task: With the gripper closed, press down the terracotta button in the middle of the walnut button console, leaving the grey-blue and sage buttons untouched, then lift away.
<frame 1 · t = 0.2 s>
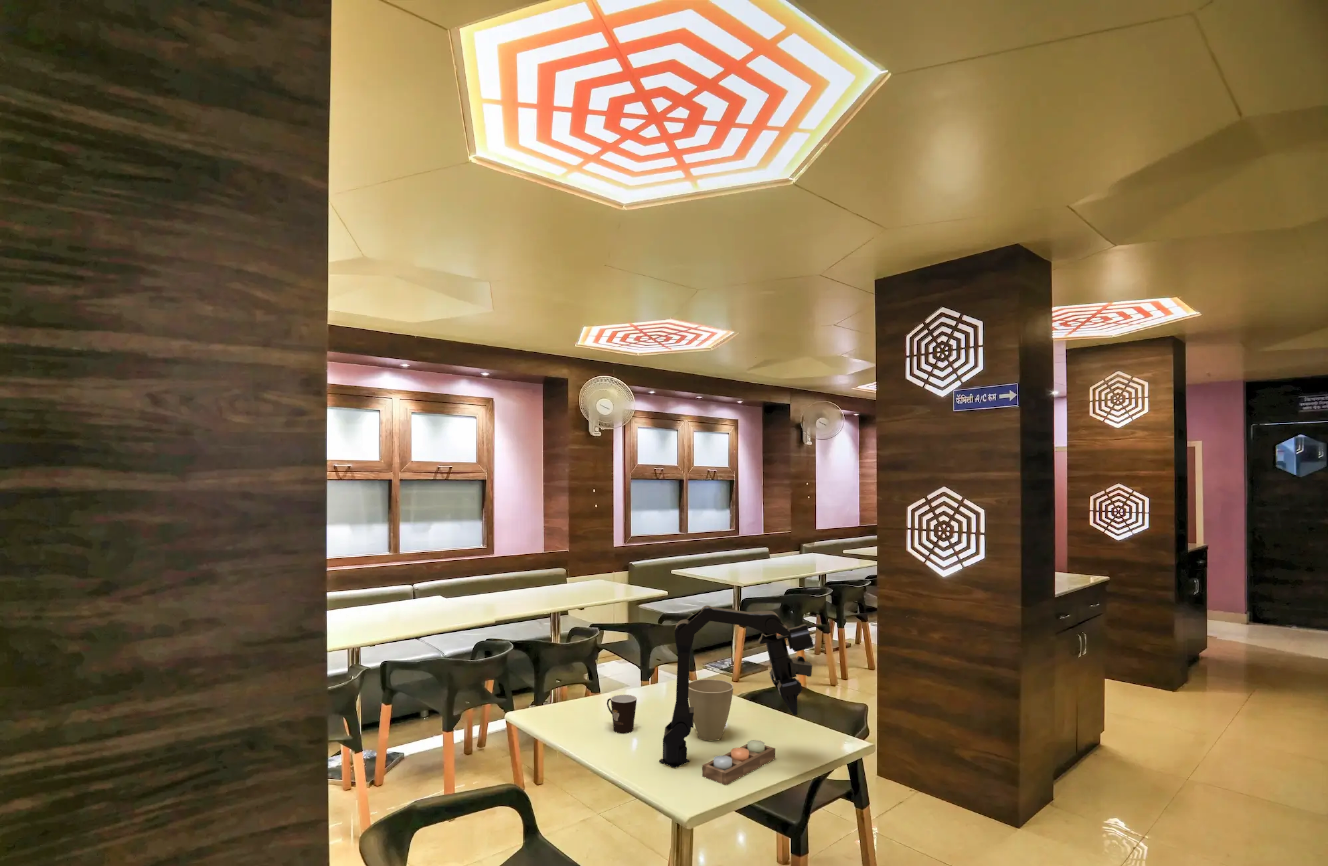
hand: (792, 709, 188), 15 cm above the table, tool pointing down, fingers open, 9 cm apart
terracotta button: (739, 756, 185), point 3 cm above the table, slide at 0.0 cm
walnut console: (740, 767, 185), on the table
sage button: (756, 748, 191), point 3 cm above the table, slide at 0.0 cm
plant pot: (710, 737, 209), on the table
coffee mug: (622, 729, 216), on the table
slate button: (722, 764, 179), point 3 cm above the table, slide at 0.0 cm
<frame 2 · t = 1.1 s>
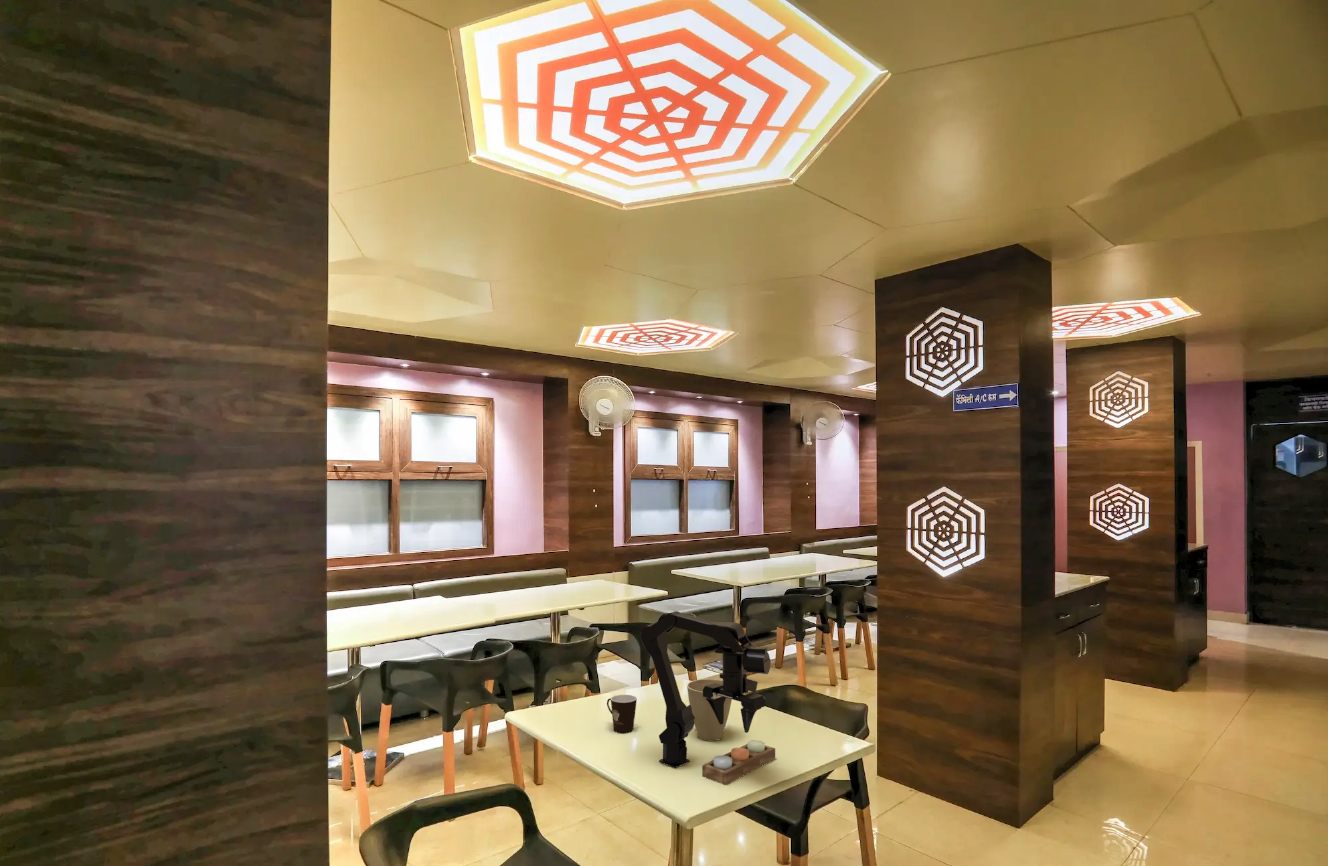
hand: (733, 728, 181), 12 cm above the table, tool pointing down, fingers open, 9 cm apart
nothing on the table moved.
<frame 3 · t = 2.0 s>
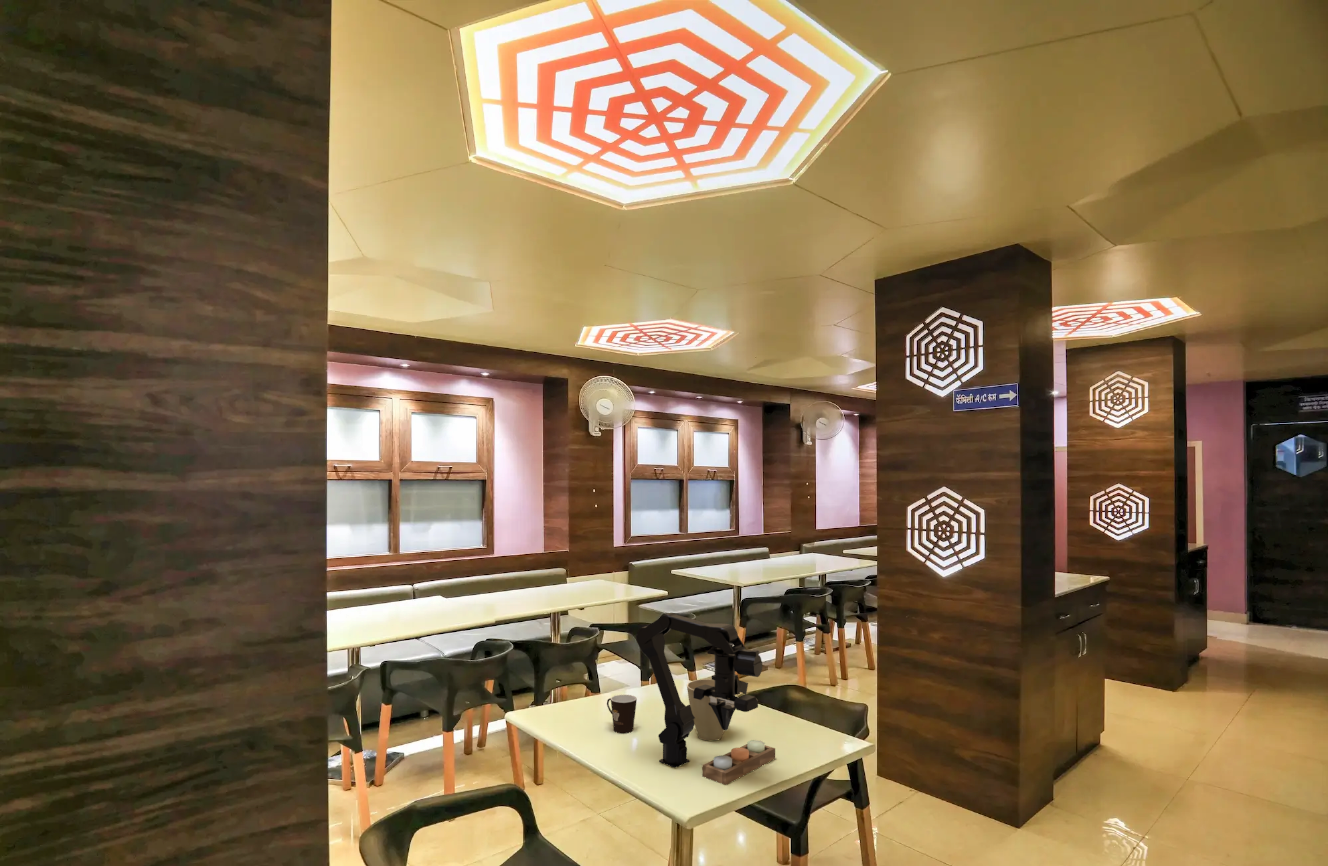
hand: (725, 729, 181), 12 cm above the table, tool pointing down, fingers closed
nothing on the table moved.
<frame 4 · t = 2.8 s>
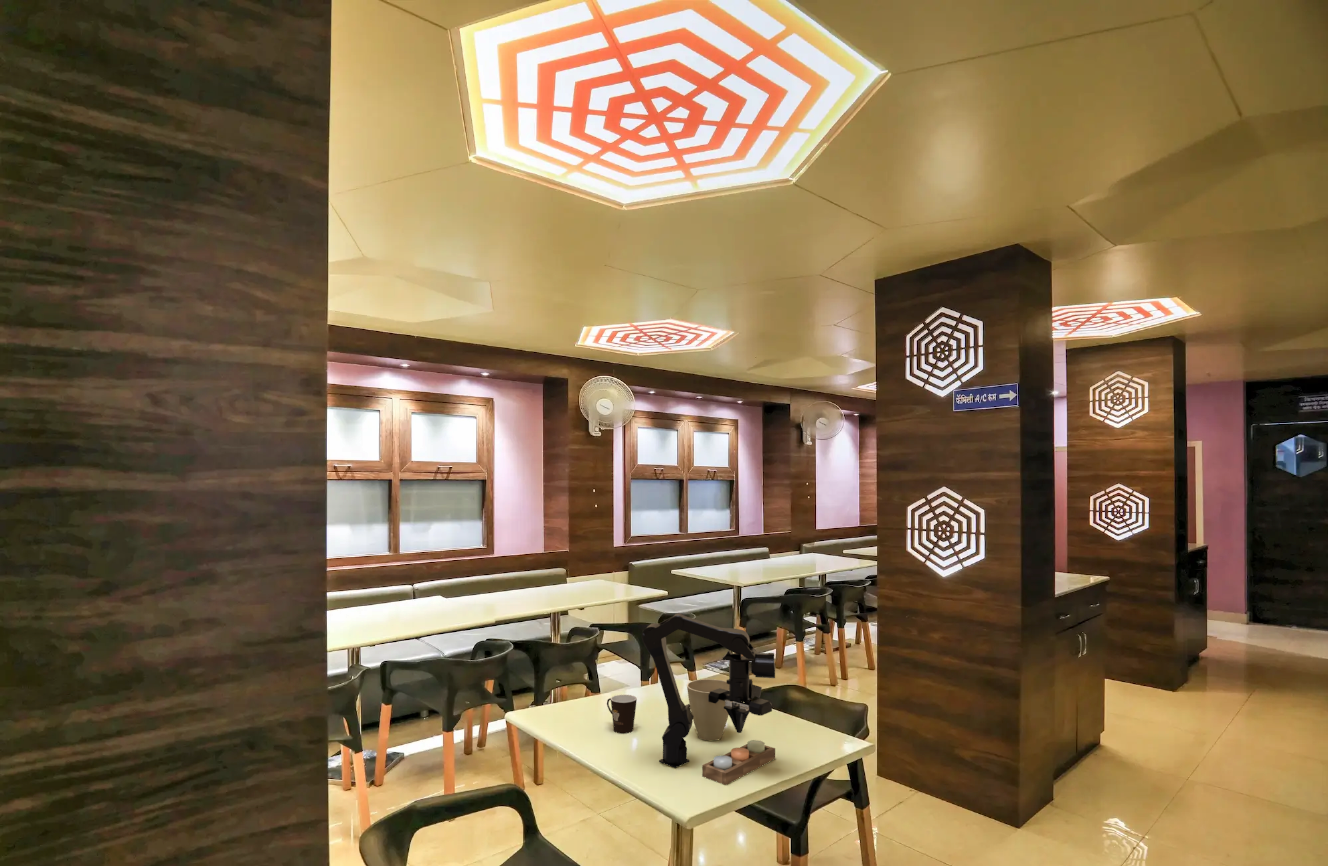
hand: (739, 732, 186), 9 cm above the table, tool pointing down, fingers closed
nothing on the table moved.
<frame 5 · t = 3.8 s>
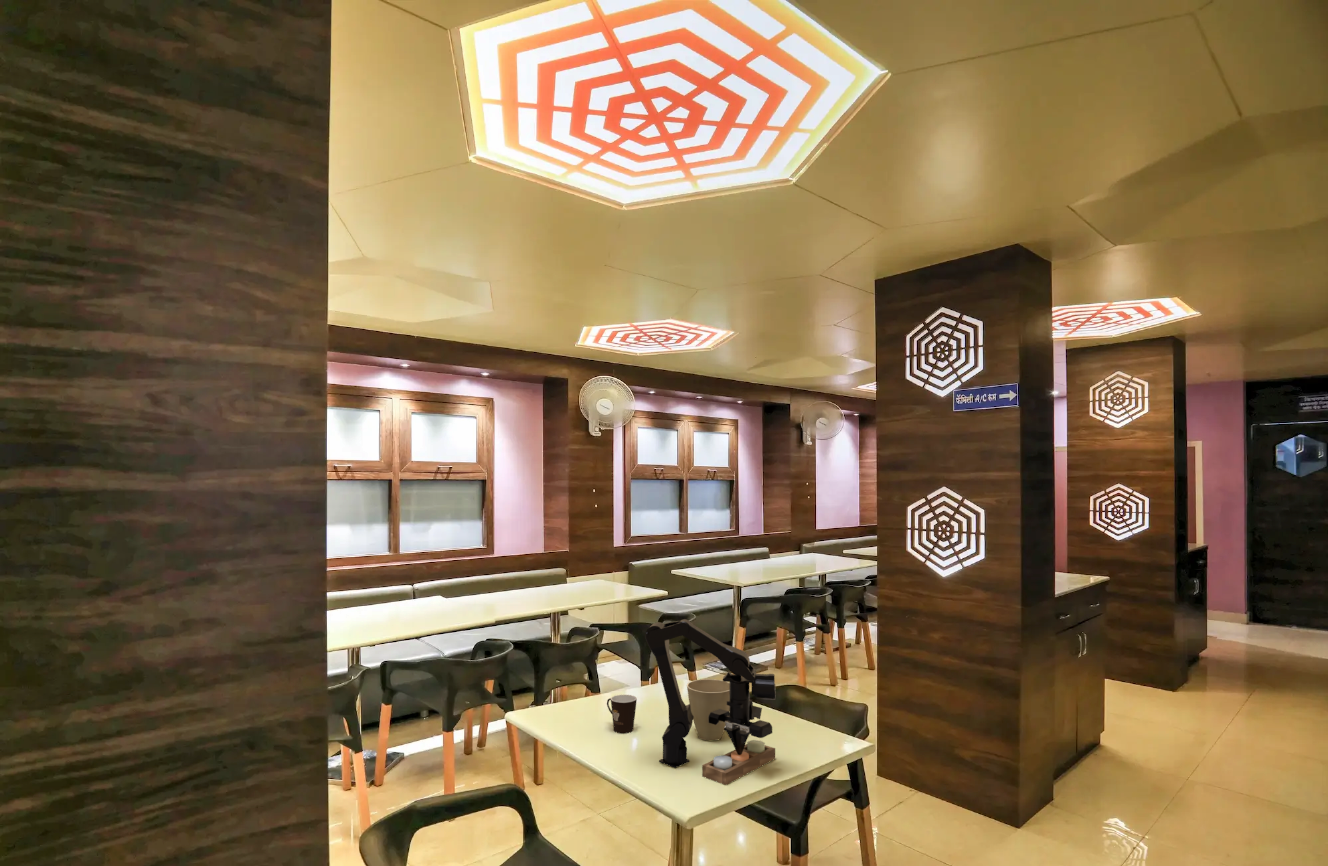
hand: (739, 754, 185), 4 cm above the table, tool pointing down, fingers closed, pressing on terracotta button
terracotta button: (739, 759, 185), point 2 cm above the table, slide at -0.9 cm, touching gripper
everything else where it was.
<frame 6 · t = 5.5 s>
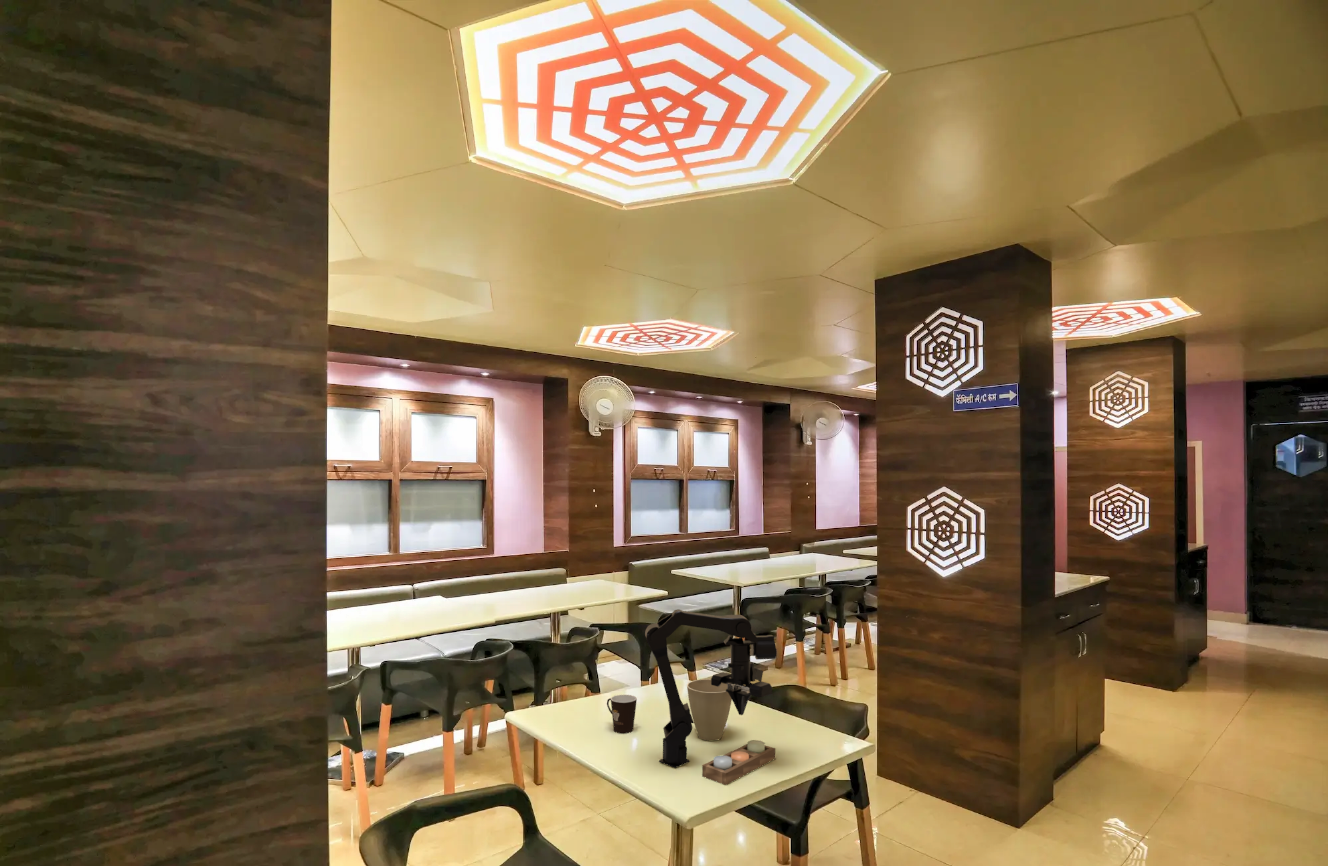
hand: (741, 714, 191), 13 cm above the table, tool pointing down, fingers closed
terracotta button: (739, 760, 185), point 2 cm above the table, slide at -1.0 cm
everything else where it was.
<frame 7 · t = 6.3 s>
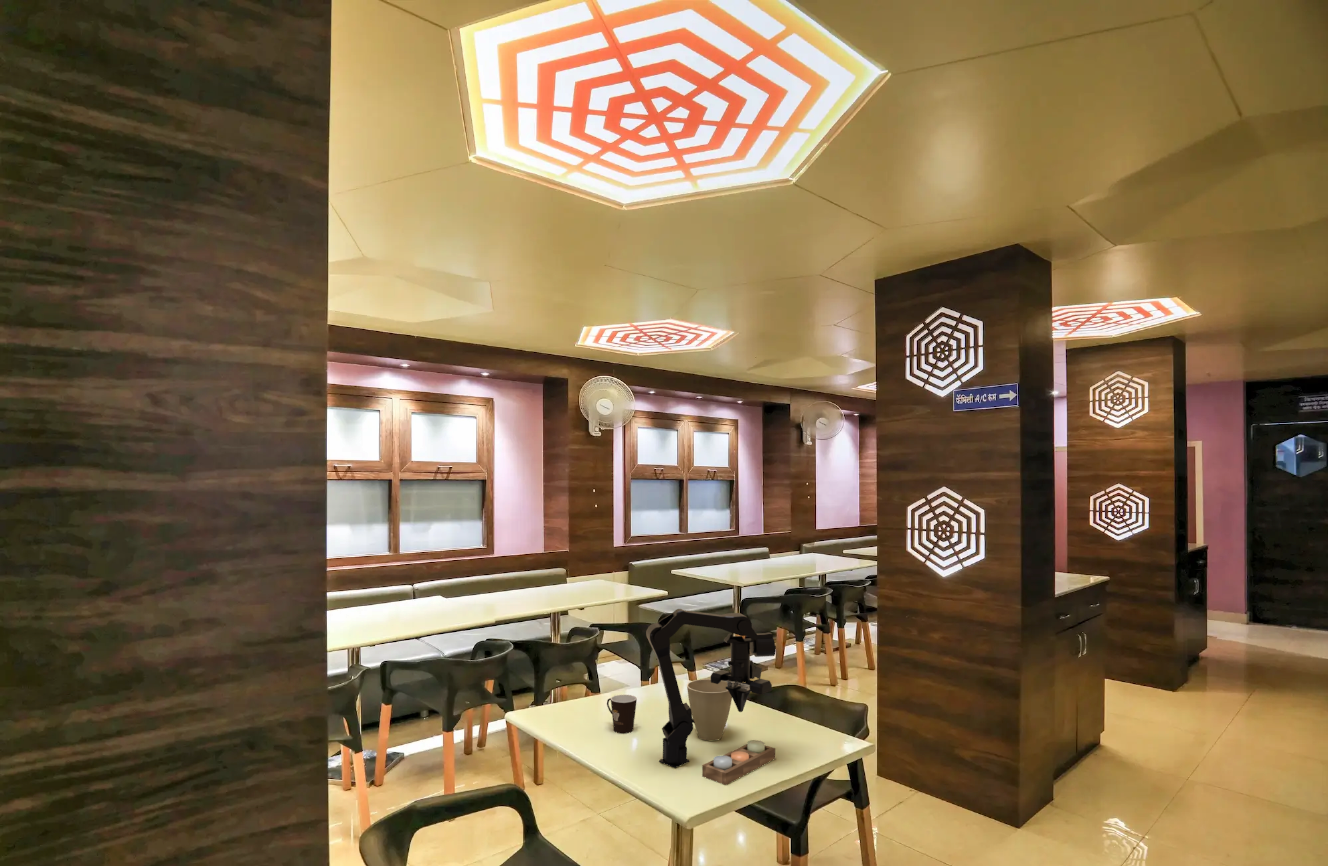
hand: (740, 711, 193), 13 cm above the table, tool pointing down, fingers closed
nothing on the table moved.
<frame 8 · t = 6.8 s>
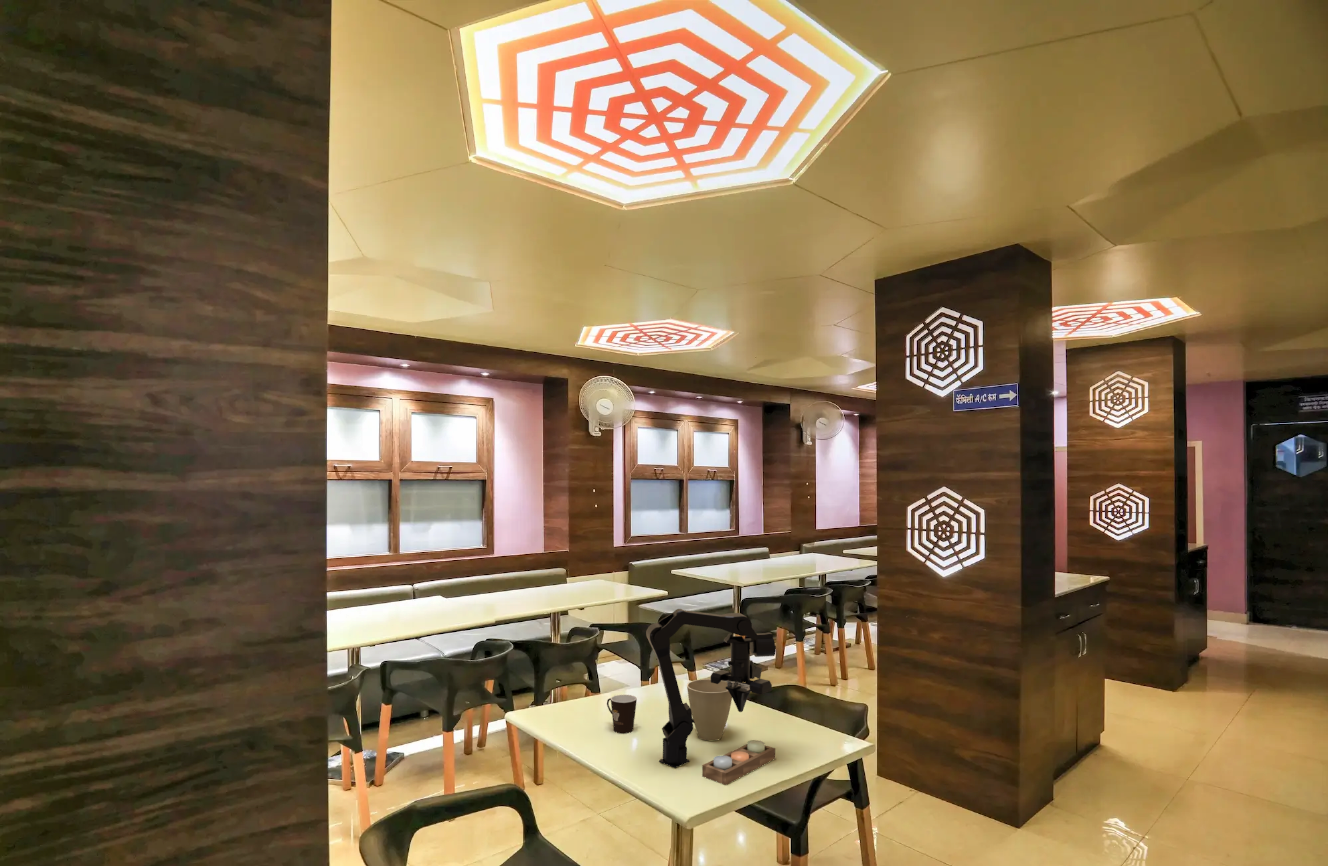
hand: (740, 711, 193), 13 cm above the table, tool pointing down, fingers closed
nothing on the table moved.
at the end: terracotta button slide at -1.0 cm; slate button slide at 0.0 cm; sage button slide at 0.0 cm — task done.
